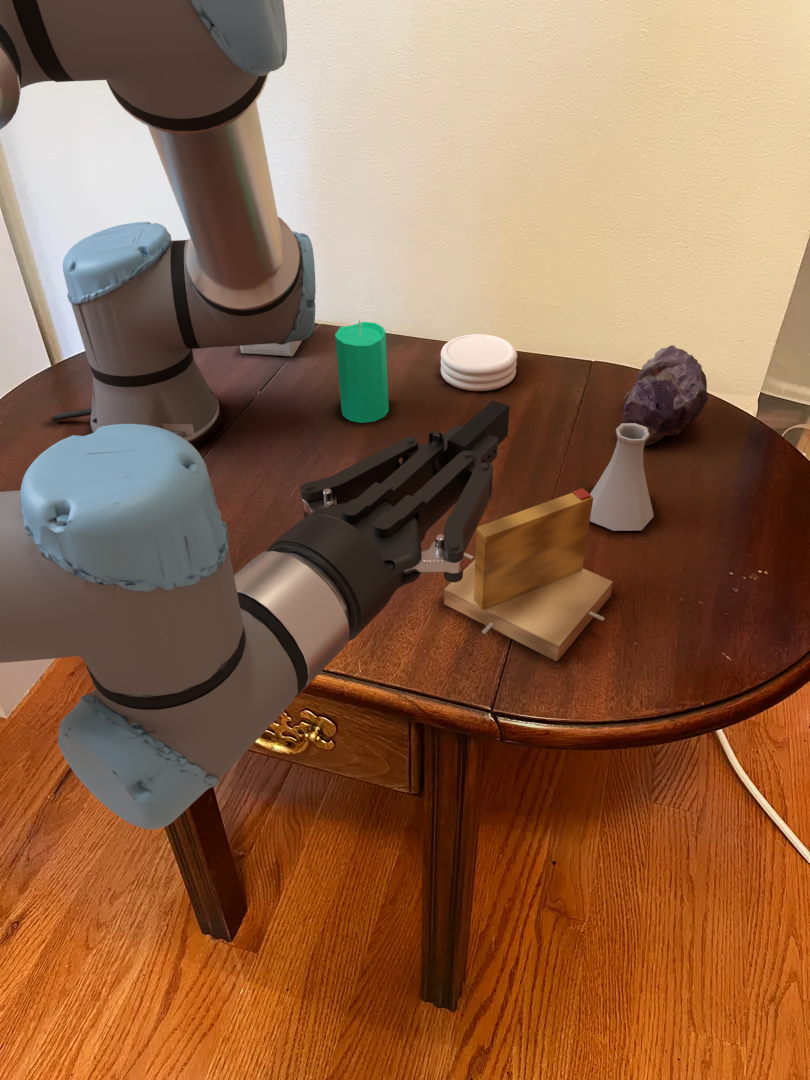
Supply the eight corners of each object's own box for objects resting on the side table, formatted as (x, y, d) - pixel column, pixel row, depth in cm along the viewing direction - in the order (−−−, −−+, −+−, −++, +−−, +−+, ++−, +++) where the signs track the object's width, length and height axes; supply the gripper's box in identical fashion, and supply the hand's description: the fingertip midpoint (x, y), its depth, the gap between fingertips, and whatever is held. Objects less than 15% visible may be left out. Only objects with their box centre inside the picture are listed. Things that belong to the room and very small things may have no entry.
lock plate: (413, 613, 77) (413, 596, 76) (502, 528, 86) (503, 512, 85) (558, 689, 70) (560, 672, 69) (638, 588, 79) (642, 571, 78)
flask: (657, 498, 90) (674, 418, 83) (649, 539, 84) (667, 457, 78) (589, 486, 92) (601, 407, 85) (577, 526, 86) (589, 444, 80)
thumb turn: (482, 610, 74) (485, 534, 69) (473, 599, 76) (476, 524, 70) (582, 569, 78) (593, 495, 73) (572, 560, 79) (583, 486, 74)
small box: (308, 332, 122) (305, 299, 118) (293, 358, 116) (288, 323, 112) (257, 329, 123) (252, 295, 119) (239, 354, 117) (233, 320, 114)
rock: (605, 448, 99) (692, 465, 96) (610, 391, 93) (703, 406, 89) (629, 389, 106) (711, 402, 103) (635, 331, 100) (723, 344, 96)
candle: (391, 398, 107) (388, 309, 99) (386, 423, 102) (381, 333, 94) (345, 397, 107) (338, 308, 100) (337, 422, 103) (329, 331, 95)
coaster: (435, 358, 115) (435, 335, 112) (507, 353, 115) (508, 329, 113) (446, 395, 107) (446, 371, 105) (523, 390, 108) (525, 365, 105)
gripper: (234, 601, 55) (429, 434, 70) (397, 686, 49) (572, 484, 64) (215, 512, 50) (428, 352, 65) (393, 594, 44) (583, 399, 59)
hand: (500, 418), depth 64 cm, fingers closed
